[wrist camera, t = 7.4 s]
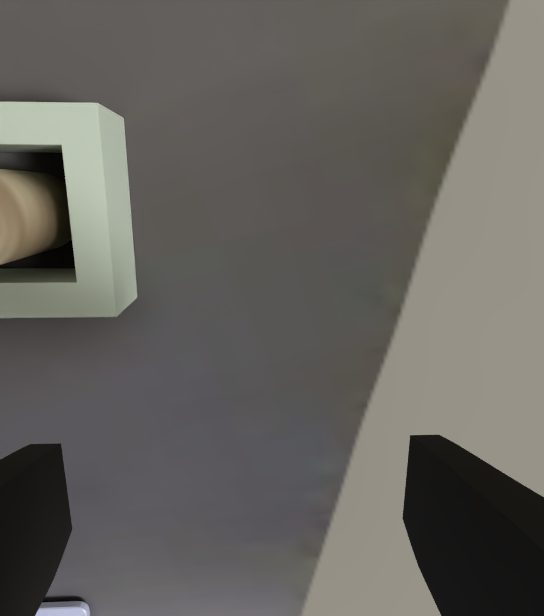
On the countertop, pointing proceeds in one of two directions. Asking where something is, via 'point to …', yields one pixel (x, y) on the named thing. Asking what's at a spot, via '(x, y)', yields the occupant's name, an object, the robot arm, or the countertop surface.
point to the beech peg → (32, 214)
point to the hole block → (76, 212)
